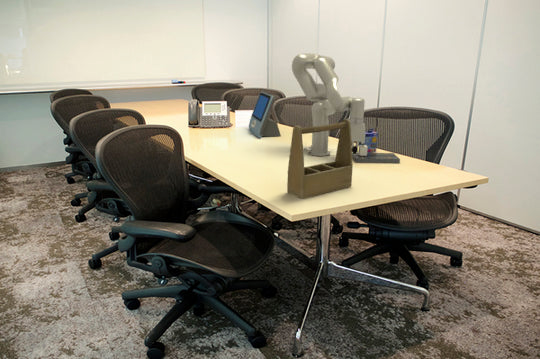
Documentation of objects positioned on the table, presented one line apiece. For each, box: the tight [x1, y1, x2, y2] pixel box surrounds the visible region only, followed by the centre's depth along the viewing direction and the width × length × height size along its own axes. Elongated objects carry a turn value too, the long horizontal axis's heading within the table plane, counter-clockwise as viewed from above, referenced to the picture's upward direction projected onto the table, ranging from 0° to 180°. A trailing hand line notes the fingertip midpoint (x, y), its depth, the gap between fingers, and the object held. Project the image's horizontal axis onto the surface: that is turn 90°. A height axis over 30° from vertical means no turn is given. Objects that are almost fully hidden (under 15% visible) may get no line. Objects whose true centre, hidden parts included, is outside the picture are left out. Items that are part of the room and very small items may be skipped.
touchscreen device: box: [248, 91, 282, 139], centre depth 303 cm, size 35×20×30 cm, turn 14°
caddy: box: [286, 118, 354, 200], centre depth 178 cm, size 29×11×30 cm, turn 126°
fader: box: [357, 145, 368, 156], centre depth 232 cm, size 4×4×5 cm
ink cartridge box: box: [360, 128, 379, 153], centre depth 251 cm, size 10×6×14 cm, turn 117°
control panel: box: [352, 152, 401, 164], centre depth 233 cm, size 24×14×3 cm, turn 89°
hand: (354, 153), depth 233 cm, fingers closed
